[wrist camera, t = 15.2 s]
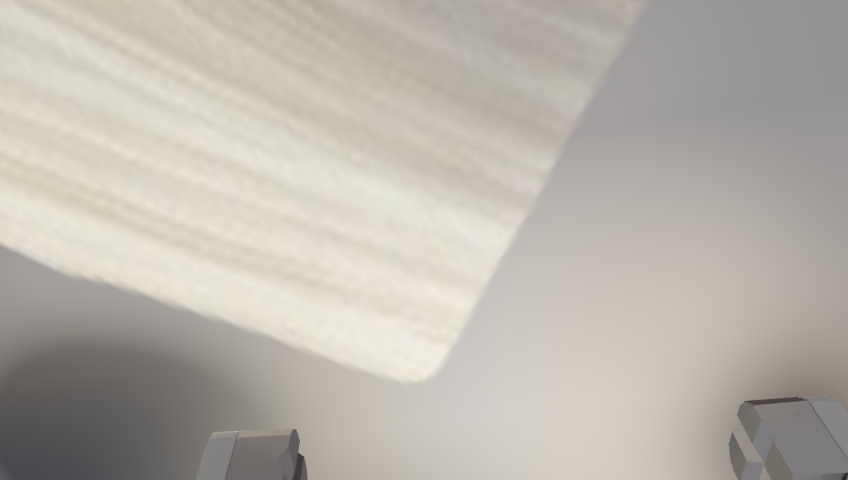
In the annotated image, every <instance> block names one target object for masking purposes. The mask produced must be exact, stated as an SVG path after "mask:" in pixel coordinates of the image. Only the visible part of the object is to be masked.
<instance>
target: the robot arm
mask: <svg viewBox="0 0 848 480" xmlns="http://www.w3.org/2000/svg"><path fill="white" fill-rule="evenodd" d="M737 416H738V417H739V419H740V421H741V423H742V424H741V425H739V426H738V427H737V428H736V429H734V430H733V431H732V434H731V438H730V442H729V450H730V460H731V463H732V467H733V470H734V472H735V475H736V476H737V479H738V480H848V414H847V413H846V412H845V410H844V409H843V407H842V406H841V405H840V403H839V402H838V401H837V400H836V399H835V398H833V397H832V396H816V397H801V398H799V397H792V398H778V399H764V400H751V401H744V403H742V404H741V405H740V408H739V411H738V414H737ZM299 444H300V440H299V437H298V433H297V430H296V429H284V430H254V431H233V432H232V431H231V432H214V433H213V434H212V436H211V437H210V438H209V440H208V443H207V445H206V449H205V452H204V455H203V459H202V462H201V465H200V468H199V471H198V474H197V478H196V480H307V468H306V463H305V459H304V456H302V455H301V454H299V453H298V449H299Z"/></svg>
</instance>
